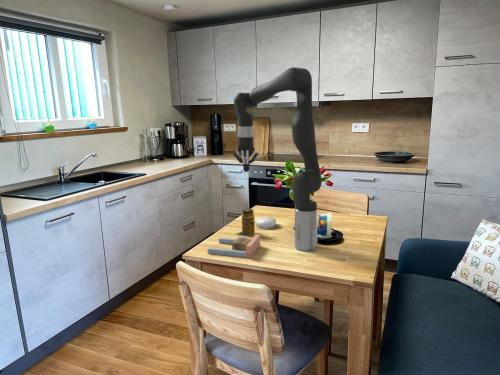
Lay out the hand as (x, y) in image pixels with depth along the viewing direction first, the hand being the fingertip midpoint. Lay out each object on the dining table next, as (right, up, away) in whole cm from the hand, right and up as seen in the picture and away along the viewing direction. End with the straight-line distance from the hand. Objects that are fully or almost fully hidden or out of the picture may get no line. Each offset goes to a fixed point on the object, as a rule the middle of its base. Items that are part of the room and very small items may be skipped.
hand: (246, 171), depth 181 cm
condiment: (0, -30, -2) cm, 30 cm away
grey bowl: (+10, -28, +10) cm, 31 cm away
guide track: (-5, -34, -21) cm, 40 cm away
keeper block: (-2, -34, -20) cm, 40 cm away
